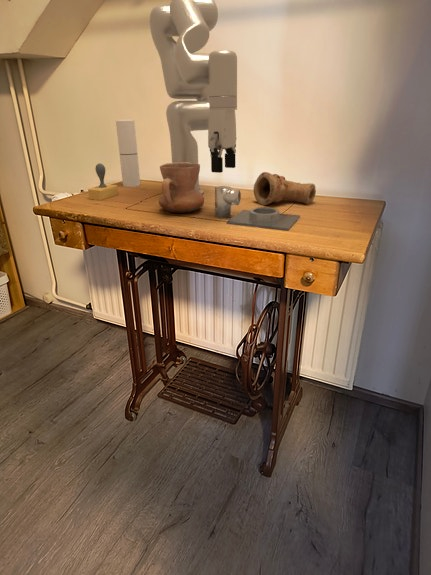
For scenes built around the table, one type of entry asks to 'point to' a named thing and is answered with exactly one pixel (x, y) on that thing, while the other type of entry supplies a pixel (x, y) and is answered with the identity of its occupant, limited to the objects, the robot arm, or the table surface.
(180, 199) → the ceramic jug
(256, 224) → the flange
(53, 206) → the table surface
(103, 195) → the rubber stamp
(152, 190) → the table surface
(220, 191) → the grey rounded piece
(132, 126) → the cylindrical container
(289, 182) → the clay pipe
